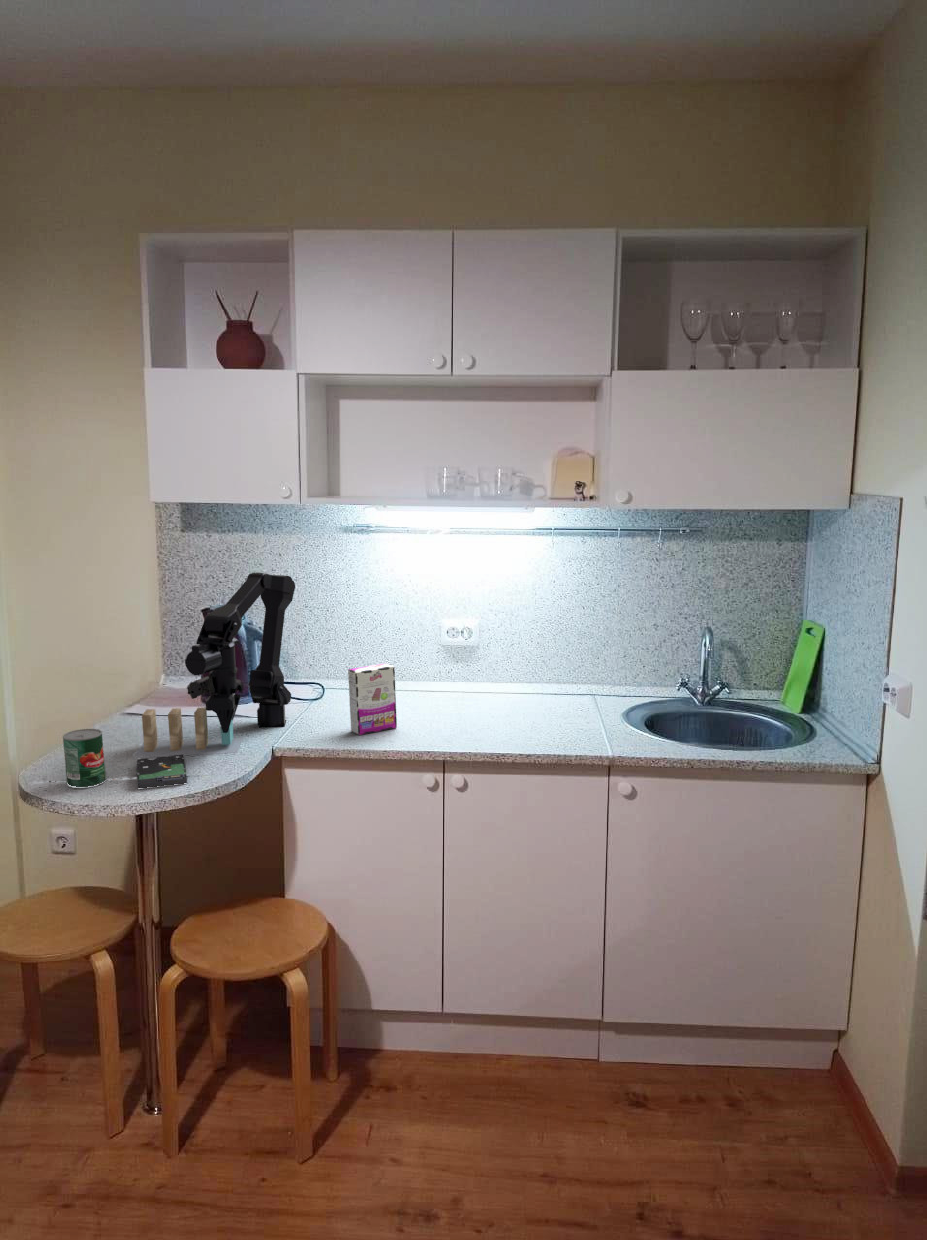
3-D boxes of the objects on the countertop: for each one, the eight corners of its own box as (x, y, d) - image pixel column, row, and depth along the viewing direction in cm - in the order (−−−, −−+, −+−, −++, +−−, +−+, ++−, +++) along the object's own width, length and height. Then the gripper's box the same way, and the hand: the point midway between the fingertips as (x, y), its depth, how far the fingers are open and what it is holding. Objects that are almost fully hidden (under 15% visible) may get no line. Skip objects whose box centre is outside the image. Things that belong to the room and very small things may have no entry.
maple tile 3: (183, 744, 227) (180, 708, 225) (179, 750, 222) (176, 713, 220) (174, 744, 226) (172, 708, 225) (170, 750, 221) (168, 714, 220)
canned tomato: (74, 776, 206) (70, 728, 204) (111, 775, 206) (107, 727, 204) (61, 789, 198) (56, 739, 196) (99, 788, 198) (95, 738, 196)
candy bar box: (388, 723, 244) (386, 662, 241) (397, 728, 239) (395, 666, 236) (349, 731, 237) (347, 668, 235) (358, 736, 233) (356, 672, 230)
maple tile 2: (208, 743, 227) (206, 707, 226) (205, 749, 222) (202, 712, 221) (200, 743, 227) (197, 707, 225) (196, 749, 222) (194, 713, 220)
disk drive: (136, 771, 211) (137, 792, 197) (135, 759, 211) (136, 779, 197) (184, 765, 215) (188, 785, 201) (183, 753, 214) (187, 773, 200)
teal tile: (221, 744, 222) (219, 708, 221) (225, 738, 227) (222, 702, 226) (230, 744, 223) (228, 708, 221) (233, 738, 228) (231, 702, 226)
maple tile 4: (157, 745, 226) (155, 709, 224) (153, 751, 221) (150, 714, 219) (149, 745, 226) (146, 709, 224) (144, 751, 221) (141, 715, 219)
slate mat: (243, 739, 231) (243, 737, 231) (237, 754, 220) (237, 752, 220) (144, 743, 229) (144, 741, 229) (132, 759, 217) (132, 757, 217)
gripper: (195, 658, 230) (199, 719, 233) (180, 676, 212) (185, 742, 215) (241, 657, 231) (245, 718, 234) (230, 674, 213) (234, 740, 216)
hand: (227, 729), depth 224 cm, fingers closed on teal tile, 5 cm apart
